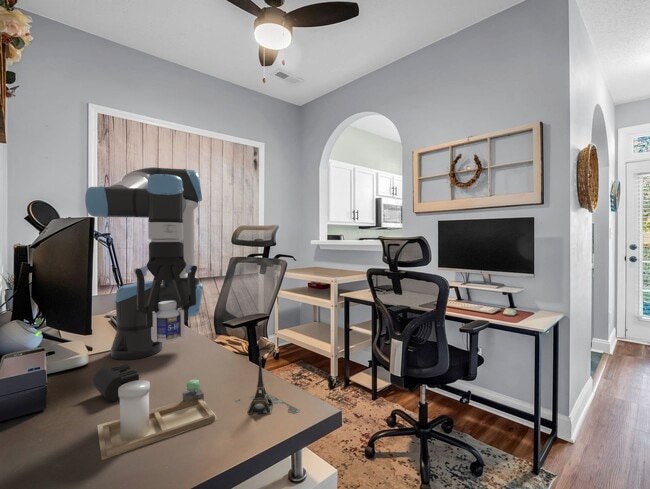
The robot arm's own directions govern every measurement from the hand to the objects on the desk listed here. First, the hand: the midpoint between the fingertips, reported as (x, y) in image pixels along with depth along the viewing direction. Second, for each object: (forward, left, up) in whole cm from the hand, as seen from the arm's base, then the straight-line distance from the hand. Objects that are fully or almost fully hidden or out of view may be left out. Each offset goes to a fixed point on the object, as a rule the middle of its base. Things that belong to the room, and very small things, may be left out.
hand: (167, 337), depth 79 cm
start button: (+8, +3, -12) cm, 15 cm away
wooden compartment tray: (+13, -5, -15) cm, 20 cm away
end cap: (-8, -10, -15) cm, 20 cm away
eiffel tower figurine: (+18, +16, -15) cm, 29 cm away
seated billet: (+14, -9, -13) cm, 21 cm away
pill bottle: (0, 0, 0) cm, 0 cm away
